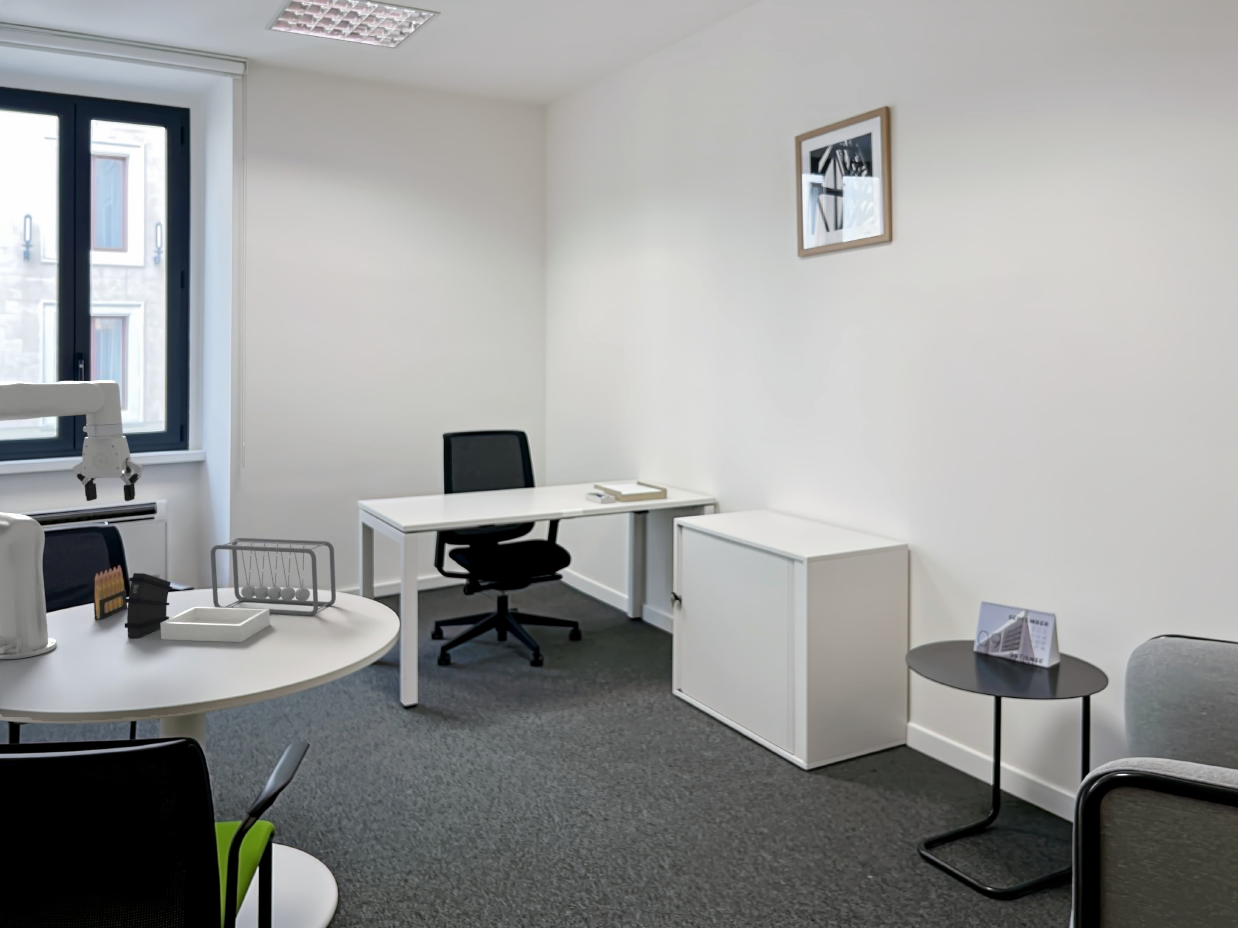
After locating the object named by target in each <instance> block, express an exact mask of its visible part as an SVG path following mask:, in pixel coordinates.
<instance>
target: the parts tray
mask: <svg viewBox="0 0 1238 928" xmlns="http://www.w3.org/2000/svg"><path fill="white" fill-rule="evenodd" d="M249 608H250V607H240V608H219V607H215V606H214V607H212V606H193V607H190V608H188V609H187V610H184V611H182V612H180V613H178V614H176V615H174V616H172V617H169V619H168V620H166V621H163V622H161V623H160V624H161V628H160V636H161V637H160V638H161V640H168V641H170V640H171V641H172V640H174V641H193V642H195V641H199V642H201V641H202V642H203V641H204V642H220V643H221V642H226V643H242V642H244V641H246V640H247V639H249V638H250V637H253V636H254V635H255V634H257V633H258V632H260V631H262V630H263V629H265V628H267V627H269V626H271V620H270V619H271V615H270V612H269V608H258V609H249Z"/></svg>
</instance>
